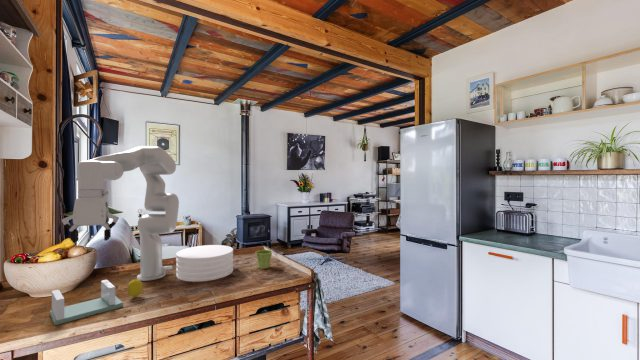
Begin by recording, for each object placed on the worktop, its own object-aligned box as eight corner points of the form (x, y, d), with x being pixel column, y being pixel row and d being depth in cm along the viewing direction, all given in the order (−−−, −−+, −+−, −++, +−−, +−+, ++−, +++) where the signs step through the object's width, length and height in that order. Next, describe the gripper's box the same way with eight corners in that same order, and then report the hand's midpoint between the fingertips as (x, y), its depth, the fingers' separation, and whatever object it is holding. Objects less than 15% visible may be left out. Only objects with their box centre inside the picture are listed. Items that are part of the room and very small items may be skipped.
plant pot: (257, 264, 172) (257, 249, 172) (274, 265, 172) (274, 249, 172) (253, 269, 163) (253, 254, 163) (270, 270, 163) (270, 254, 163)
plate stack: (222, 282, 145) (222, 258, 145) (165, 281, 145) (165, 258, 145) (239, 264, 173) (239, 245, 173) (191, 264, 173) (191, 244, 173)
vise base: (114, 298, 125) (114, 277, 125) (122, 306, 117) (122, 284, 117) (50, 314, 110) (49, 291, 110) (54, 325, 102) (54, 300, 102)
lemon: (125, 297, 126) (125, 278, 125) (140, 294, 129) (140, 275, 129) (129, 301, 122) (129, 281, 122) (144, 297, 126) (144, 278, 125)
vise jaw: (107, 295, 123) (106, 279, 123) (115, 303, 115) (115, 286, 115) (101, 296, 122) (100, 280, 122) (109, 305, 114) (109, 288, 114)
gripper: (121, 193, 117) (121, 237, 117) (66, 194, 111) (67, 240, 111) (115, 194, 110) (115, 241, 110) (56, 195, 104) (57, 244, 104)
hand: (91, 240), depth 111 cm, fingers open, 9 cm apart
